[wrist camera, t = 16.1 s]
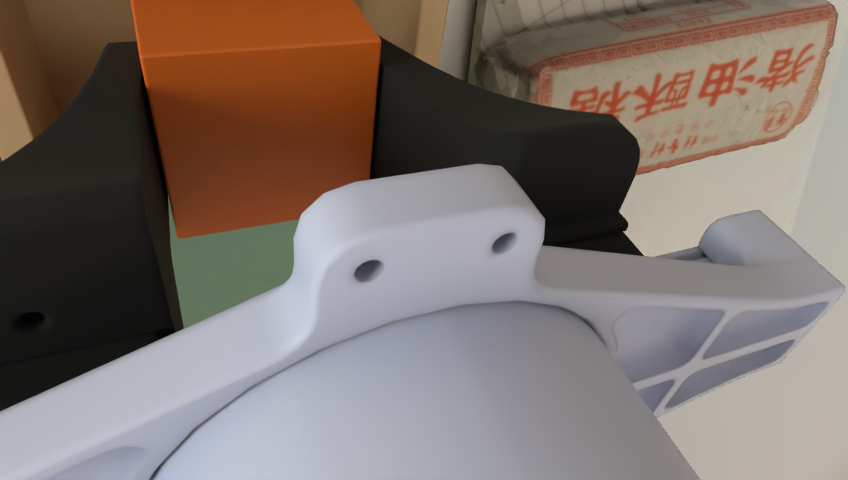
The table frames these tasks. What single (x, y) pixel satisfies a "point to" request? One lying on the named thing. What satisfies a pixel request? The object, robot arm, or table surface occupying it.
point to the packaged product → (661, 66)
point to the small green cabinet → (229, 266)
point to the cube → (257, 105)
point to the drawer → (113, 22)
